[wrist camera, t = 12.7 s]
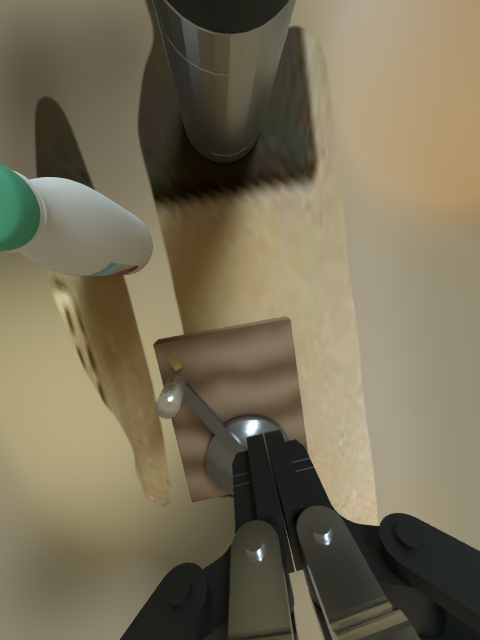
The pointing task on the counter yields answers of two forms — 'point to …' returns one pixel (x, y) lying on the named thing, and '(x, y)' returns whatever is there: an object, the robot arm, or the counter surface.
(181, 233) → the counter surface
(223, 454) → the gray disc with handle
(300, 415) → the stand
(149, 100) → the counter surface
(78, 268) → the milk bottle
